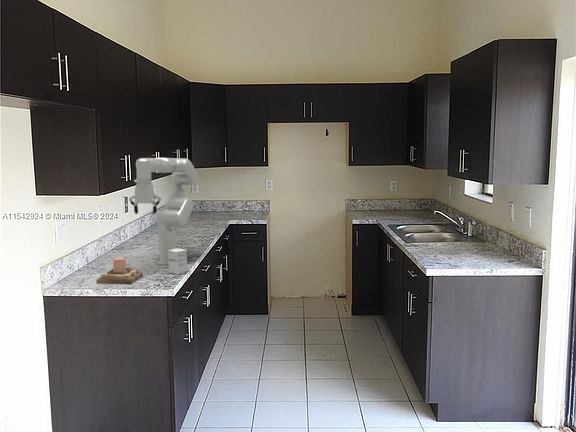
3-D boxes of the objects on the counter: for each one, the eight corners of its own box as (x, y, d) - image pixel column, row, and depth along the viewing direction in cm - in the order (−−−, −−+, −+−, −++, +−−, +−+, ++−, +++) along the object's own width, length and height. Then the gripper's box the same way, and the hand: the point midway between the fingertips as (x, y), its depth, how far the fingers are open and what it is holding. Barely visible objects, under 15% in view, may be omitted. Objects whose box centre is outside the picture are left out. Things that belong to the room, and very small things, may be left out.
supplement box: (168, 272, 288) (167, 250, 286) (178, 270, 294) (177, 247, 292) (178, 274, 284) (177, 251, 282) (187, 271, 290) (187, 249, 288)
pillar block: (116, 270, 276) (116, 257, 275) (126, 270, 276) (125, 257, 275) (113, 273, 271) (113, 259, 270) (123, 272, 271) (122, 259, 270)
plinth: (110, 275, 283) (110, 266, 282) (143, 276, 281) (142, 266, 280) (96, 283, 267) (96, 273, 266) (130, 284, 265) (130, 274, 264)
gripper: (126, 182, 280) (127, 214, 282) (159, 182, 280) (160, 214, 283) (129, 181, 287) (131, 212, 290) (161, 181, 288) (163, 212, 290)
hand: (145, 213), depth 286 cm, fingers open, 9 cm apart
